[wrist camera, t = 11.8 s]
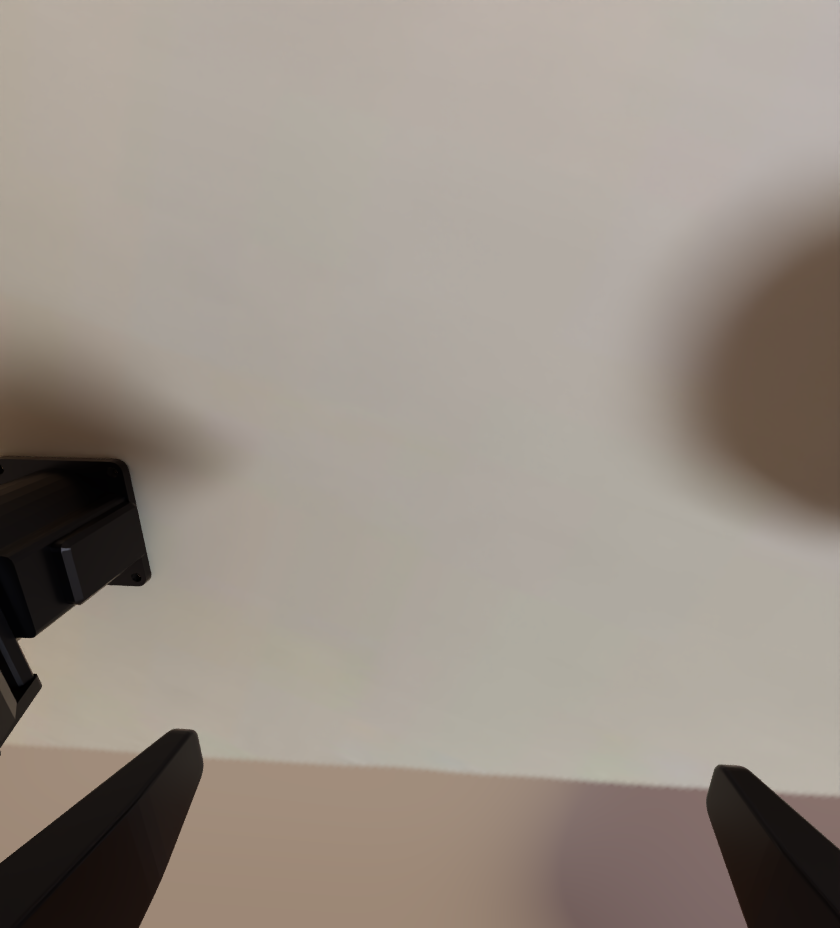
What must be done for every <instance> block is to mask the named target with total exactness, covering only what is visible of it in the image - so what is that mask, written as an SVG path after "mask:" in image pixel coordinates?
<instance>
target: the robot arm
mask: <svg viewBox="0 0 840 928" xmlns="http://www.w3.org/2000/svg"><path fill="white" fill-rule="evenodd" d="M2 467H3V468H2ZM113 468H115V469H116V470H117V472H118V474H116V473H115V472H114V470H113ZM137 574H139V575H140V576H141V577H140V576H138V575H137ZM150 578H151V570H150V566H149V561H148V557H147V552H146V547H145V543H144V538H143V533H142V529H141V524H140V519H139V515H138V510H137V506H136V501H135V496H134V492H133V487H132V482H131V478H130V473H129V469H128V467H127V465H126V464H125V463H124V462H123V461H121V460H118V459H96V458H56V457H17V456H2V457H0V748H1V746H2V745H3V743H4V742H5V740H6V739H7V737H8V736H9V734H10V733H11V731H12V730H13V729H14V727H15V726H16V724H17V723H18V721H19V720H20V718H21V717H22V715H23V714H24V712H25V711H26V710H27V708H28V707H29V705H30V704H31V702H32V701H33V699H34V698H35V696H36V695H37V693H38V692H39V691H40V689H41V688H42V684H41V682H40V680H39V678H38V676H37V674H33V673H32V671H31V668H30V666H29V664H28V662H27V660H26V658H25V656H24V654H23V652H22V650H21V648H20V646H19V644H18V640H19V639H21V638H34V637H35V636H37V635H38V634H39V633H40V632H42V631H43V630H44V629H46V628H47V627H48V626H49V625H51V624H52V623H53V622H55V621H56V620H57V619H58V618H60V617H61V616H62V615H64V614H65V613H66V612H67V611H69V610H70V609H71V608H73V607H74V606H75V605H81V604H83V603H84V602H86V601H87V600H88V599H89V598H91V597H92V596H93V595H94V594H96V593H97V592H98V591H99V590H101V589H102V588H103V587H105V586H106V585H122V586H142V585H144V584H145V583H146V582H147V581H148V580H150ZM0 755H1V751H0ZM202 772H203V758H202V753H201V748H200V744H199V739H198V735H197V733H196V732H195V731H194V730H190V729H173V730H171V731H169V732H167V733H166V734H165V735H163V736H162V737H161V738H159V739H158V740H157V741H156V742H154V743H153V744H152V745H151V746H149V747H148V748H147V749H145V750H144V751H143V752H142V753H140V754H139V755H138V756H137V757H135V758H134V759H133V760H131V761H130V762H129V763H128V764H126V765H125V766H124V767H122V768H121V769H120V770H119V771H117V772H116V773H115V774H114V775H112V776H111V777H110V778H108V779H107V780H106V781H105V782H103V783H102V784H101V785H99V786H98V787H97V788H96V789H94V790H93V791H92V792H91V793H89V794H88V795H87V796H85V797H84V798H83V799H82V800H80V801H79V802H78V803H77V804H75V805H74V806H73V807H71V808H70V809H69V810H68V811H66V812H65V813H64V814H62V815H61V816H60V817H59V818H57V819H56V820H55V821H54V822H52V823H51V824H50V825H48V826H47V827H46V828H45V829H43V830H42V831H41V832H39V833H38V834H37V835H36V836H34V837H33V838H32V839H31V840H29V841H28V842H27V843H25V844H24V845H23V846H22V847H20V848H19V849H18V850H16V851H15V852H14V853H13V854H11V855H10V856H9V857H8V858H6V859H5V860H4V861H2V862H1V863H0V928H139V926H140V924H141V922H142V920H143V918H144V916H145V914H146V912H147V910H148V907H149V905H150V903H151V901H152V899H153V897H154V895H155V893H156V890H157V888H158V886H159V884H160V882H161V879H162V877H163V874H164V872H165V870H166V867H167V865H168V862H169V859H170V857H171V854H172V851H173V849H174V847H175V844H176V841H177V839H178V836H179V834H180V831H181V828H182V825H183V823H184V821H185V818H186V815H187V813H188V810H189V807H190V805H191V802H192V800H193V797H194V795H195V792H196V789H197V787H198V784H199V782H200V779H201V776H202ZM706 805H707V811H708V815H709V818H710V821H711V824H712V827H713V830H714V833H715V836H716V838H717V841H718V844H719V847H720V850H721V853H722V856H723V859H724V861H725V864H726V867H727V869H728V873H729V876H730V879H731V881H732V884H733V887H734V890H735V893H736V896H737V898H738V902H739V904H740V907H741V910H742V913H743V916H744V918H745V921H746V924H747V927H748V928H840V849H839V848H838V847H836V846H835V845H834V844H833V843H832V842H831V841H830V840H828V839H827V838H826V837H825V836H824V835H823V834H822V833H820V832H819V831H818V830H817V829H816V828H815V827H814V826H812V825H811V824H810V823H809V822H808V821H806V819H804V818H803V817H802V816H801V815H800V814H799V813H797V812H796V811H795V810H794V809H793V808H792V807H790V805H788V804H787V803H786V802H785V801H784V800H782V799H781V798H780V797H779V796H778V795H777V794H776V793H775V792H774V791H772V790H771V789H770V788H769V787H768V786H767V785H766V784H764V783H763V782H762V781H761V780H760V779H759V778H758V777H756V776H755V775H754V774H753V773H752V772H751V771H749V770H748V769H746V768H745V767H742V766H737V765H718V766H717V767H715V769H714V772H713V776H712V779H711V783H710V787H709V790H708V794H707V799H706Z"/></svg>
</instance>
